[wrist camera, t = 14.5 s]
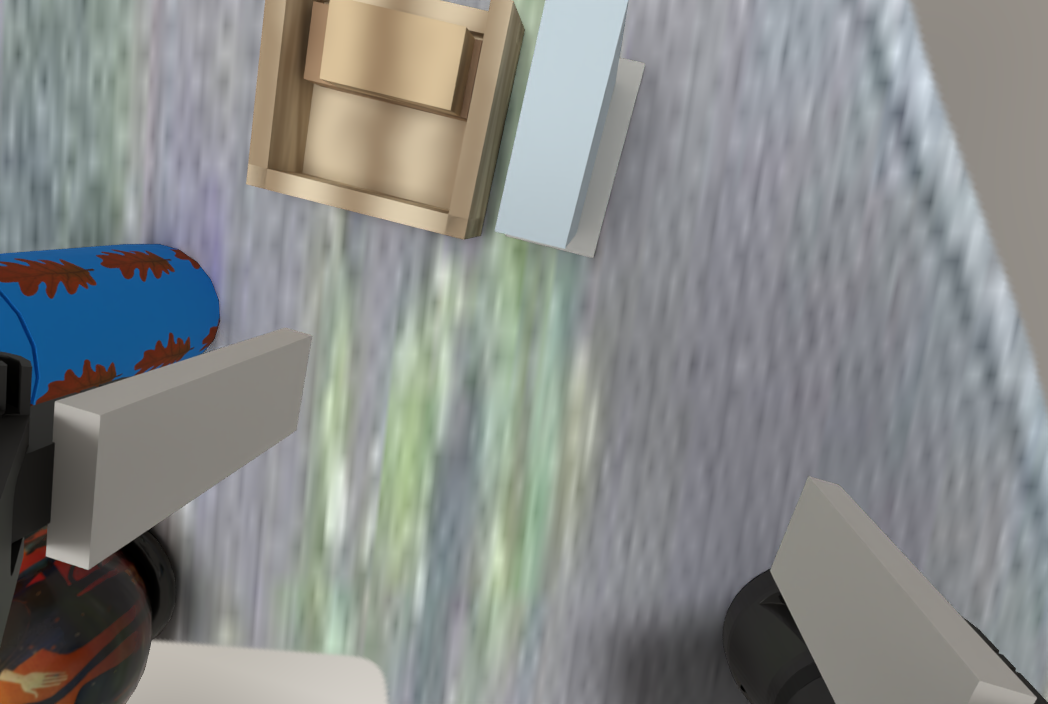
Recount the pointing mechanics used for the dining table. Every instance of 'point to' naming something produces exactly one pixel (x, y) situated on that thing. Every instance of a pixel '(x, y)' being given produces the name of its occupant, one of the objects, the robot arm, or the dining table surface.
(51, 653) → the amphora vase
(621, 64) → the mat
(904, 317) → the dining table surface
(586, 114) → the pale blue block
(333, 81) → the offcut
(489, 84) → the box
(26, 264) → the thermos
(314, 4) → the offcut
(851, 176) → the dining table surface
